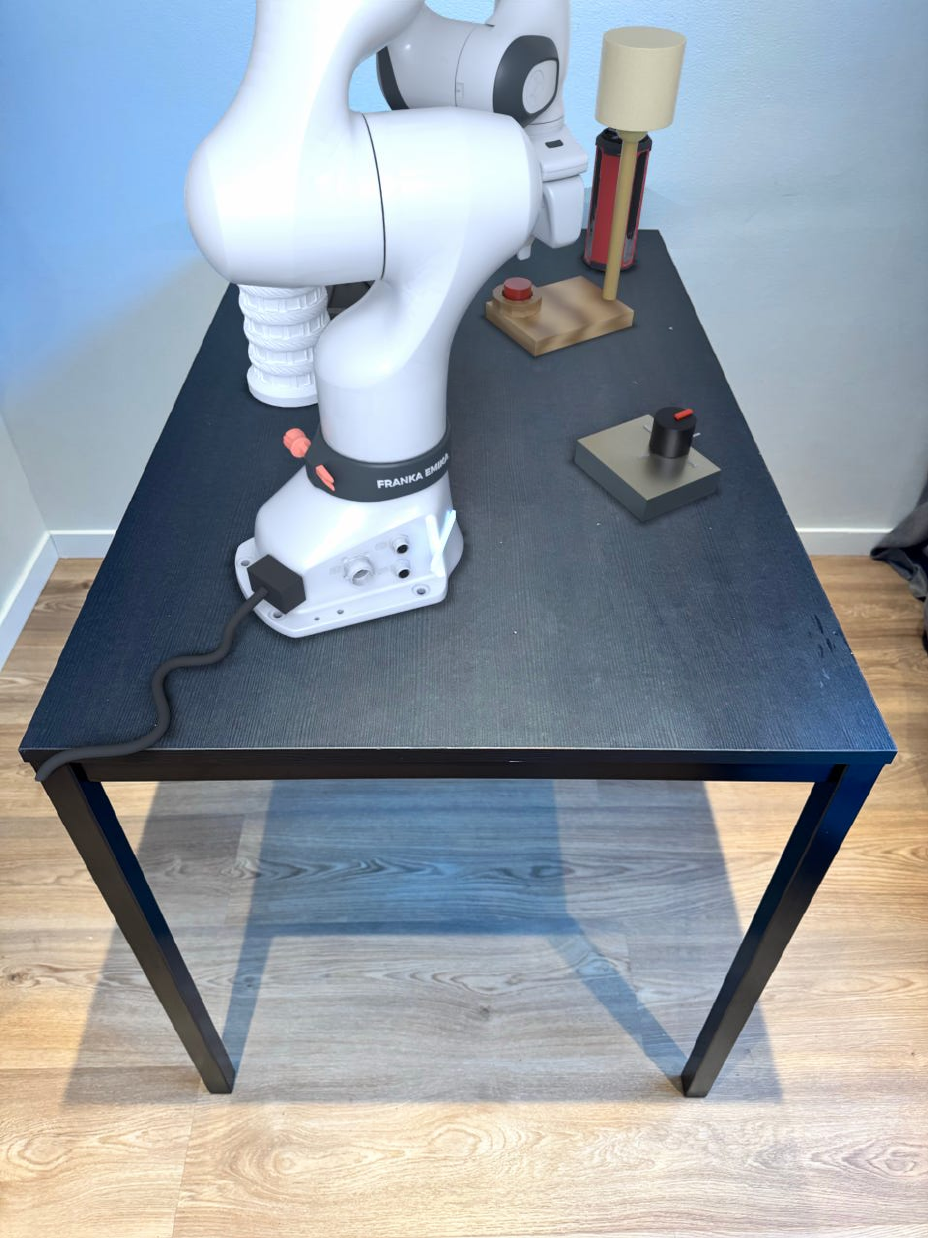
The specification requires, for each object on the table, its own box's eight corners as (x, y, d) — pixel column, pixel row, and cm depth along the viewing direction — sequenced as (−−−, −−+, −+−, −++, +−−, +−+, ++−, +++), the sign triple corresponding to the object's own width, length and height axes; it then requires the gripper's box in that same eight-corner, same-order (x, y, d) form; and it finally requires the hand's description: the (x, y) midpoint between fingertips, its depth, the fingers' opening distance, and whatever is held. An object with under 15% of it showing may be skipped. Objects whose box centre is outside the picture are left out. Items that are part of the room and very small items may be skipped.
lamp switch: (513, 304, 115) (513, 292, 114) (498, 293, 117) (498, 280, 116) (535, 298, 117) (536, 285, 115) (520, 287, 119) (521, 274, 117)
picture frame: (432, 326, 118) (439, 259, 132) (432, 312, 116) (439, 246, 131) (313, 323, 118) (333, 257, 132) (311, 309, 116) (332, 244, 131)
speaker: (611, 279, 128) (629, 146, 115) (572, 261, 132) (585, 131, 119) (644, 263, 132) (665, 133, 119) (604, 246, 136) (621, 119, 123)
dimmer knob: (668, 462, 93) (674, 432, 90) (640, 442, 95) (646, 412, 93) (698, 449, 94) (706, 419, 92) (670, 429, 97) (677, 399, 94)
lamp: (602, 319, 112) (638, 52, 91) (561, 291, 117) (586, 32, 96) (657, 302, 115) (704, 41, 94) (615, 275, 120) (650, 22, 99)
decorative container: (331, 410, 104) (313, 261, 91) (236, 403, 105) (205, 254, 92) (351, 360, 112) (338, 216, 99) (263, 353, 113) (238, 210, 100)
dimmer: (642, 522, 91) (647, 498, 88) (574, 462, 98) (577, 438, 95) (731, 485, 95) (738, 461, 93) (659, 430, 102) (664, 406, 100)
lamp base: (533, 357, 113) (535, 328, 110) (482, 316, 120) (483, 288, 117) (632, 325, 119) (636, 297, 116) (578, 289, 126) (581, 262, 123)
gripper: (456, 117, 108) (455, 230, 118) (552, 172, 96) (542, 292, 106) (499, 108, 110) (495, 220, 120) (598, 161, 98) (584, 280, 108)
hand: (518, 254), depth 113 cm, fingers closed
